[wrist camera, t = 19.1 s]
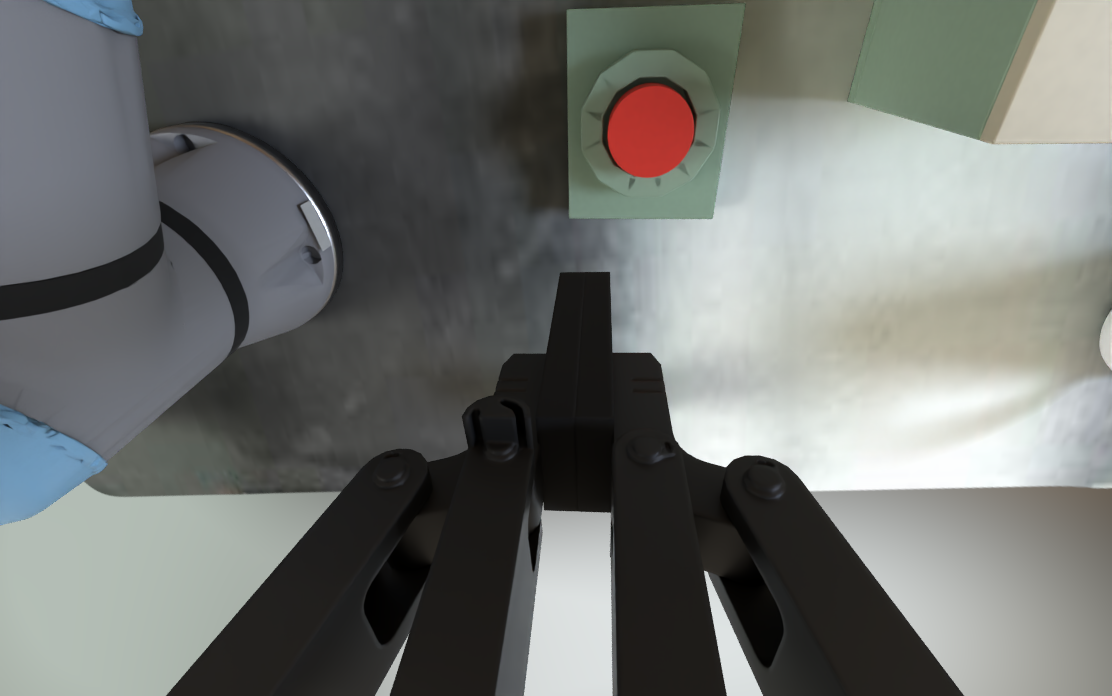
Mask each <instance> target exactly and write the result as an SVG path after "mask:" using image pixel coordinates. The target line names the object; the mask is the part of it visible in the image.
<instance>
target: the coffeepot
mask: <svg viewBox="0 0 1112 696" xmlns="http://www.w3.org/2000/svg"><path fill="white" fill-rule="evenodd" d="M1099 346H1100V352H1101V355H1102V357H1103V359H1104V361H1105V363H1106V364H1107V366H1108V367H1109V368H1110V369H1111V370H1112V310H1111V311H1110V313H1109V314H1108V316H1107V318H1106V320H1105V322H1104V324H1103V326H1102V330H1101V334H1100V341H1099Z"/></svg>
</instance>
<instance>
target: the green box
mask: <svg viewBox="0 0 1112 696" xmlns="http://www.w3.org/2000/svg"><path fill="white" fill-rule="evenodd" d="M1037 1H1038V0H875V1H874V5H873V8H872V12H871V16H870V20H869V23H868V27H867V31H866V34H865V38H864V42H863V45H862V49H861V53H860V56H859V60H858V64H857V68H856V71H855V75H854V79H853V82H852V86H851V90H850V93H849V97H848V102H851V103H855V104H858V105H861V106H865V107H868V108H872V109H875V110H878V111H882V112H885V113H889V114H892V115H895V116H899V117H902V118H906V119H909V120H912V121H916V122H919V123H923V124H926V125H929V126H933V127H936V128H940V129H943V130H946V131H950V132H953V133H957V134H960V135H963V136H967V137H970V138H973V139H977V140H980V137H981V135H982V132H983V130H984V128H985V125H986V123H987V120H988V118H989V116H990V113H991V111H992V108H993V106H994V104H995V101H996V99H997V97H998V94H999V92H1000V89H1001V87H1002V85H1003V82H1004V80H1005V77H1006V75H1007V73H1008V70H1009V68H1010V65H1011V63H1012V61H1013V58H1014V56H1015V54H1016V51H1017V49H1018V46H1019V44H1020V42H1021V39H1022V37H1023V34H1024V32H1025V30H1026V27H1027V25H1028V23H1029V20H1030V18H1031V15H1032V13H1033V11H1034V8H1035V6H1036V3H1037Z"/></svg>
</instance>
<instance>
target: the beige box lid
mask: <svg viewBox="0 0 1112 696" xmlns="http://www.w3.org/2000/svg"><path fill="white" fill-rule="evenodd" d="M980 140H981V141H983V142H987V143H990V144H1075V143H1112V0H1038V1H1037V3H1036V6H1035V8H1034V11H1033V13H1032V15H1031V18H1030V20H1029V23H1028V25H1027V27H1026V30H1025V32H1024V34H1023V37H1022V39H1021V42H1020V44H1019V46H1018V49H1017V51H1016V54H1015V56H1014V58H1013V61H1012V63H1011V65H1010V68H1009V70H1008V73H1007V75H1006V77H1005V80H1004V82H1003V85H1002V87H1001V89H1000V92H999V94H998V97H997V99H996V101H995V104H994V106H993V108H992V111H991V113H990V116H989V118H988V120H987V123H986V125H985V128H984V130H983V132H982V135H981V137H980Z"/></svg>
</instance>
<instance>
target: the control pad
mask: <svg viewBox="0 0 1112 696" xmlns="http://www.w3.org/2000/svg"><path fill="white" fill-rule="evenodd" d="M745 5H746V4H745V3H726V4H699V5H672V6H644V7H617V8H589V9H567V10H566V19H567V101H568V182H569V218H579V219H713V214H714V208H715V201H716V194H717V188H718V181H719V175H720V168H721V162H722V155H723V149H724V142H725V136H726V129H727V122H728V116H729V109H730V103H731V96H732V90H733V83H734V77H735V70H736V64H737V57H738V51H739V44H740V37H741V31H742V24H743V18H744V11H745ZM644 83H660V84H664V85H667V86H669V87H671V88H672V89H674V90H675V91H676V92H677V93H679V94H680V95H681V96H682V97H683V98H684V99H685V101H686V102H687V104H688V105H689V107H690V109H691V112H692V115H693V120H694V136H693V140H692V144H691V146H690V149H689V151H688V153H687V154H686V156H685V157H684V159H683V160H682V161H681V162H680V163H679V164H678V165H677V166H676V167H675V168H674V169H672V170H671V171H669V172H667V173H665V174H663V175H660V176H657V177H652V178H642V177H637V176H634V175H631V174H629V173H627V172H626V171H624V170H623V169H622V168H621V167H620V166H619V165H618V164H617V163H616V162H615V160H614V159H613V157H612V155H611V152H610V149H609V146H608V137H607V132H608V121H609V117H610V114H611V111H612V109H613V107H614V106H615V104H616V102H617V101H618V100H619V99H620V97H621V96H622V95H623V94H624V93H626V92H627V91H628V90H630V89H631V88H633V87H635V86H638V85H640V84H644Z"/></svg>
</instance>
